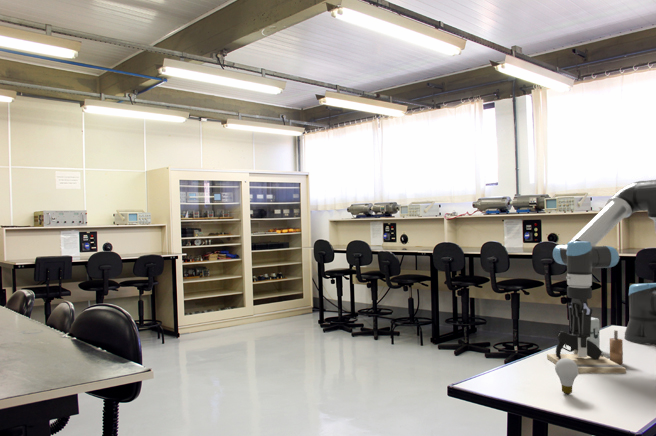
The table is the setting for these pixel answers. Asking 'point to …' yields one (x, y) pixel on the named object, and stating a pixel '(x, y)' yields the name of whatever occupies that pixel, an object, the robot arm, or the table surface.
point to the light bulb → (566, 374)
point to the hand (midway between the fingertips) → (580, 355)
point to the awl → (616, 349)
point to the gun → (576, 345)
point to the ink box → (595, 332)
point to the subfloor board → (590, 364)
